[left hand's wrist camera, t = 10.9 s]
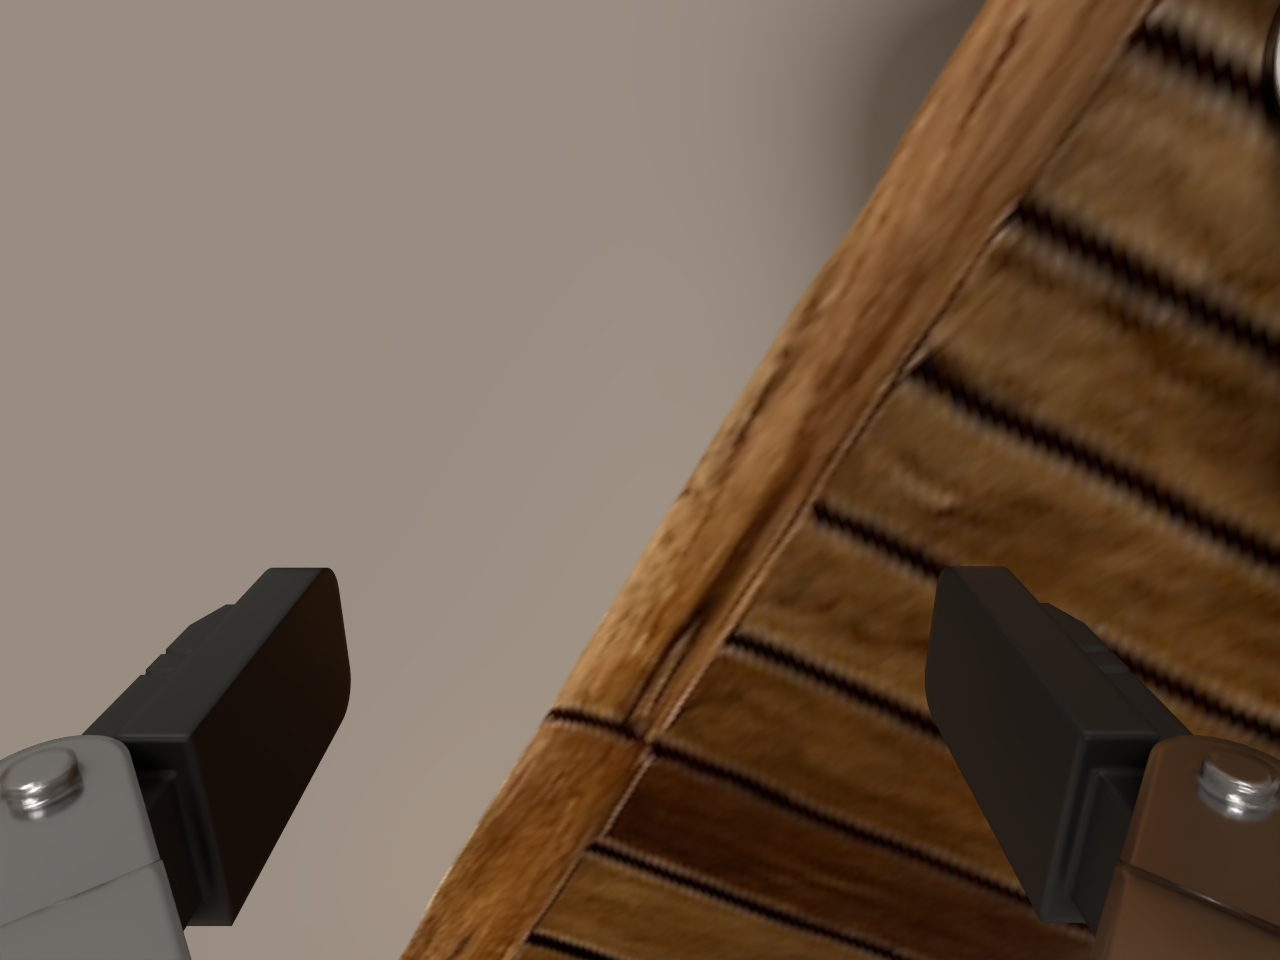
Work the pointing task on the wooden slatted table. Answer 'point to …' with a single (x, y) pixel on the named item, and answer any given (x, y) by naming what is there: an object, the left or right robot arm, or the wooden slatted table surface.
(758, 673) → the wooden slatted table surface
